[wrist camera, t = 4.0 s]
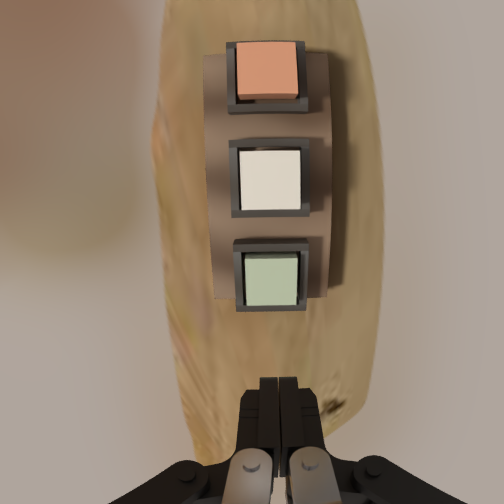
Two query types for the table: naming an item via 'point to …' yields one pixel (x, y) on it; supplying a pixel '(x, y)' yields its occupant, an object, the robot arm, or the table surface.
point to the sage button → (271, 278)
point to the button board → (268, 139)
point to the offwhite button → (270, 180)
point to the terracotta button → (267, 70)
